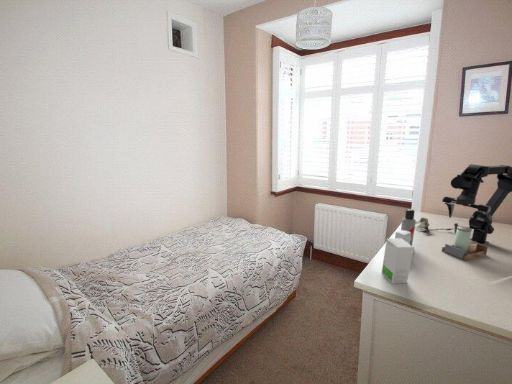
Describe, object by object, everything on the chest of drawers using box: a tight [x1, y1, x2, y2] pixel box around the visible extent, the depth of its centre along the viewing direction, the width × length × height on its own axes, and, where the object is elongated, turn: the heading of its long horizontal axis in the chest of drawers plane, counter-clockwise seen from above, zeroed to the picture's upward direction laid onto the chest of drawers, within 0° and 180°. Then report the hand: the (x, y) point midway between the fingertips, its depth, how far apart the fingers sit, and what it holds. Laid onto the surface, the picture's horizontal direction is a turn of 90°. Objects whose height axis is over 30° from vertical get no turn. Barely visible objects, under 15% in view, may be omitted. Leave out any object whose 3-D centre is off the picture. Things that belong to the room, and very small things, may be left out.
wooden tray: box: [441, 243, 489, 262], centre depth 129 cm, size 15×11×5 cm
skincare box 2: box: [381, 237, 414, 285], centre depth 108 cm, size 8×7×16 cm
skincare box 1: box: [394, 229, 411, 244], centre depth 126 cm, size 6×4×12 cm
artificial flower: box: [414, 217, 459, 234], centre depth 157 cm, size 9×22×10 cm, turn 63°
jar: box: [468, 240, 478, 254], centre depth 131 cm, size 5×5×5 cm
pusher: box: [443, 243, 465, 260], centre depth 127 cm, size 1×8×4 cm, turn 22°
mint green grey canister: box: [453, 225, 473, 256], centre depth 127 cm, size 6×6×13 cm
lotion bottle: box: [400, 208, 417, 247], centre depth 135 cm, size 6×6×20 cm
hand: (460, 220), depth 137 cm, fingers open, 9 cm apart
